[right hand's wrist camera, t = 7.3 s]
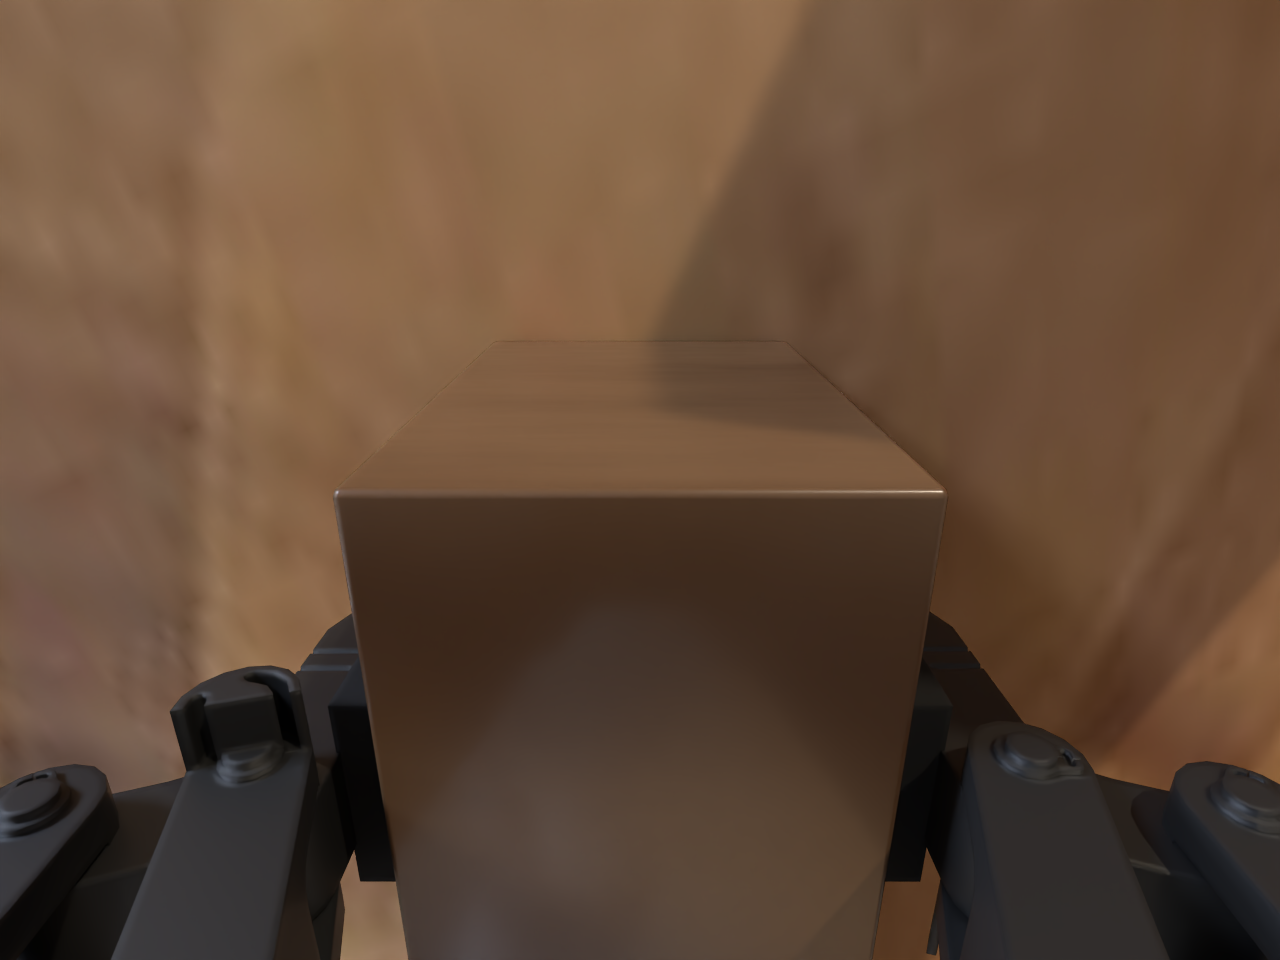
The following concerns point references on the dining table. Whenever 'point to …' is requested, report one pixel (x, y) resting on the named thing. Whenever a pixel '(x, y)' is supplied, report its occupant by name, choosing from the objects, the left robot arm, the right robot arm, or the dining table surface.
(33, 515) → the dining table surface
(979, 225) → the dining table surface
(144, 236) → the dining table surface
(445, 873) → the beam
